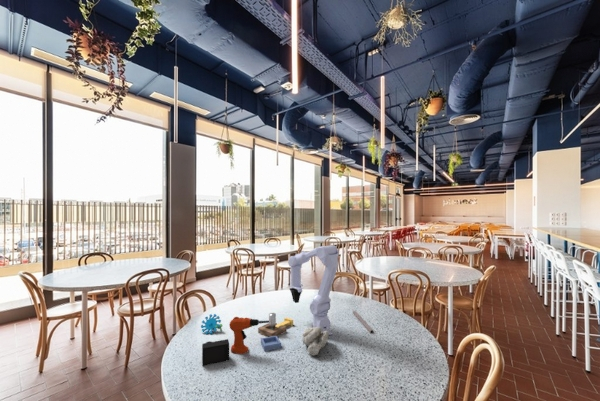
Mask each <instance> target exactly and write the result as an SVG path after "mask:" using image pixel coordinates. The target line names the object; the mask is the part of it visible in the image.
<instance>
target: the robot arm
mask: <svg viewBox="0 0 600 401" xmlns="http://www.w3.org/2000/svg"><path fill="white" fill-rule="evenodd" d="M339 255H340V252H339V249H338V247H337V246H336V245H334V244H330V245H324V246H323V245H322V246H317V247H315V248H313V249H311V250H309V251H307V250H306V251H304V250H301V251H300V252H299V253H295V255H290V256H289V257H288V261H287V263H288V265H289V266H290V283H289V287H290V288H289V291H290V293H291V297H292V301H293V302H294V303H295V304H297V303H300V297H301V294H302V293H303V288H302V287H303V286H304V285H303V283H302V281H301V279H302V275H301V274H302V273H301V272H302V270H301V269H302V268H303V266H302V265H303V264H305V263H308V262H309V261H310V260H311V258H315V257H317V258H318V259H319V260H320V262H321V263H322V264H323V266H325V268H324V272H323V275H322V279H321V282H320V285H319V288H318V291H317V294H316V295H315V296H314V297H313V299H312V301H311V302H310V304H309V310H310V313H311V315H312V317H313V318H312V321H313V322H312V323H313V324H312V325H313V327H320V328H321V329H322V330H321V331H323V332H324V331H328V332H329V335H328V336H330V335H331V336H332V335H333V332H331V320H330V319H329V317H328V313H329V311H330V309H331V302H332V299H331V298H330V292H331V290H332V286H333V283H334V280H335V276H336V274H337V271H338V267H339V264H338V263H339V261H338V257H339Z"/></svg>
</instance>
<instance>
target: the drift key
mask: <svg viewBox="0 0 600 401" xmlns="http://www.w3.org/2000/svg"><path fill="white" fill-rule="evenodd" d="M288 324H289V327H290V326H291V327H293V326H294V319H292V318H289V317H284V321H281V322H279V323H277V325H276V328H278V327H279V326H281V325H283V326H286V325H288Z"/></svg>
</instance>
